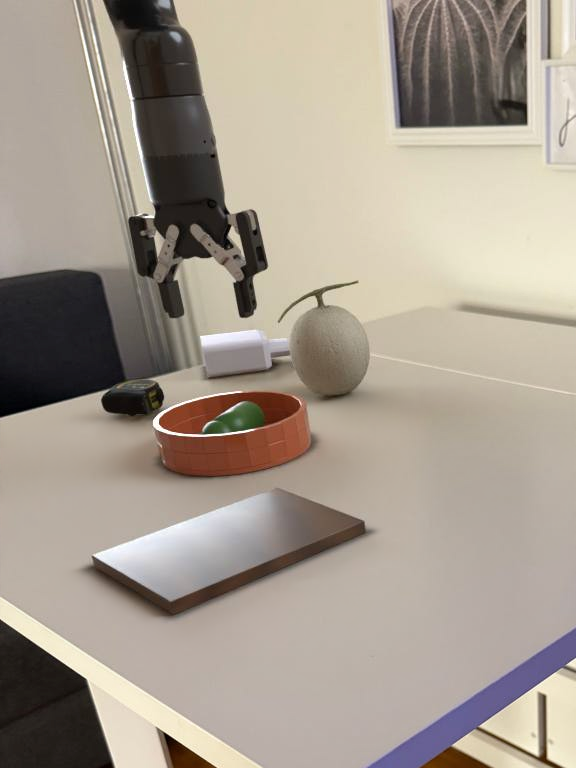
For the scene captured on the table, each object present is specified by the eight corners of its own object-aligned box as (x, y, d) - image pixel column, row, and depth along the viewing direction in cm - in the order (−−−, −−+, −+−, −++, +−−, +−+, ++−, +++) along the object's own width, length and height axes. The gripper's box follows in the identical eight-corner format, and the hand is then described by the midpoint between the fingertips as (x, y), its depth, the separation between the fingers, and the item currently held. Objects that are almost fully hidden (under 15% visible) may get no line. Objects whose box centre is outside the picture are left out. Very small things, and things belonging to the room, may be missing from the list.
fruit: (288, 389, 131) (269, 276, 123) (369, 379, 133) (355, 268, 125) (292, 409, 122) (273, 290, 114) (379, 399, 124) (365, 280, 116)
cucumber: (230, 461, 104) (223, 426, 102) (198, 460, 105) (190, 425, 103) (272, 430, 113) (267, 397, 111) (243, 429, 114) (236, 396, 112)
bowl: (213, 487, 99) (204, 447, 96) (135, 455, 109) (125, 418, 107) (340, 443, 109) (335, 405, 107) (258, 417, 120) (251, 383, 117)
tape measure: (103, 419, 123) (95, 391, 121) (134, 404, 129) (127, 377, 127) (146, 422, 121) (139, 393, 119) (176, 406, 127) (170, 378, 125)
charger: (308, 366, 141) (207, 379, 138) (301, 353, 149) (205, 365, 145) (303, 334, 139) (201, 347, 135) (296, 322, 146) (199, 334, 143)
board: (173, 615, 74) (170, 602, 74) (94, 567, 83) (90, 555, 83) (366, 532, 86) (364, 520, 86) (279, 498, 95) (277, 487, 94)
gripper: (94, 156, 92) (136, 325, 100) (224, 148, 88) (255, 324, 97) (136, 150, 98) (172, 310, 106) (259, 143, 94) (286, 308, 103)
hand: (212, 316), depth 101 cm, fingers open, 8 cm apart
